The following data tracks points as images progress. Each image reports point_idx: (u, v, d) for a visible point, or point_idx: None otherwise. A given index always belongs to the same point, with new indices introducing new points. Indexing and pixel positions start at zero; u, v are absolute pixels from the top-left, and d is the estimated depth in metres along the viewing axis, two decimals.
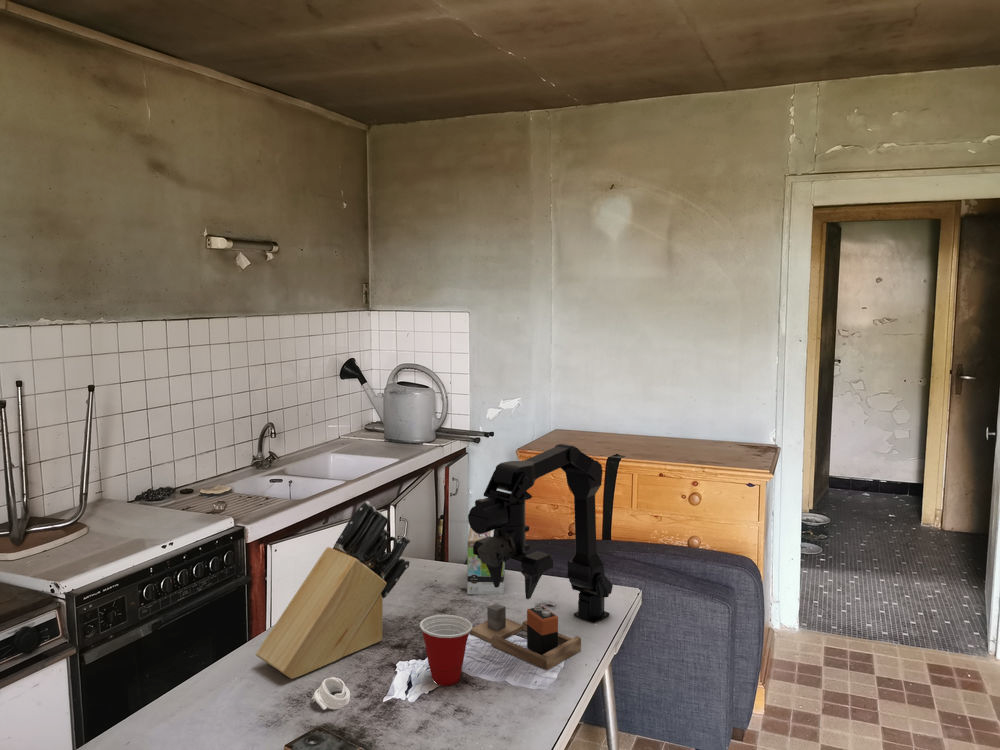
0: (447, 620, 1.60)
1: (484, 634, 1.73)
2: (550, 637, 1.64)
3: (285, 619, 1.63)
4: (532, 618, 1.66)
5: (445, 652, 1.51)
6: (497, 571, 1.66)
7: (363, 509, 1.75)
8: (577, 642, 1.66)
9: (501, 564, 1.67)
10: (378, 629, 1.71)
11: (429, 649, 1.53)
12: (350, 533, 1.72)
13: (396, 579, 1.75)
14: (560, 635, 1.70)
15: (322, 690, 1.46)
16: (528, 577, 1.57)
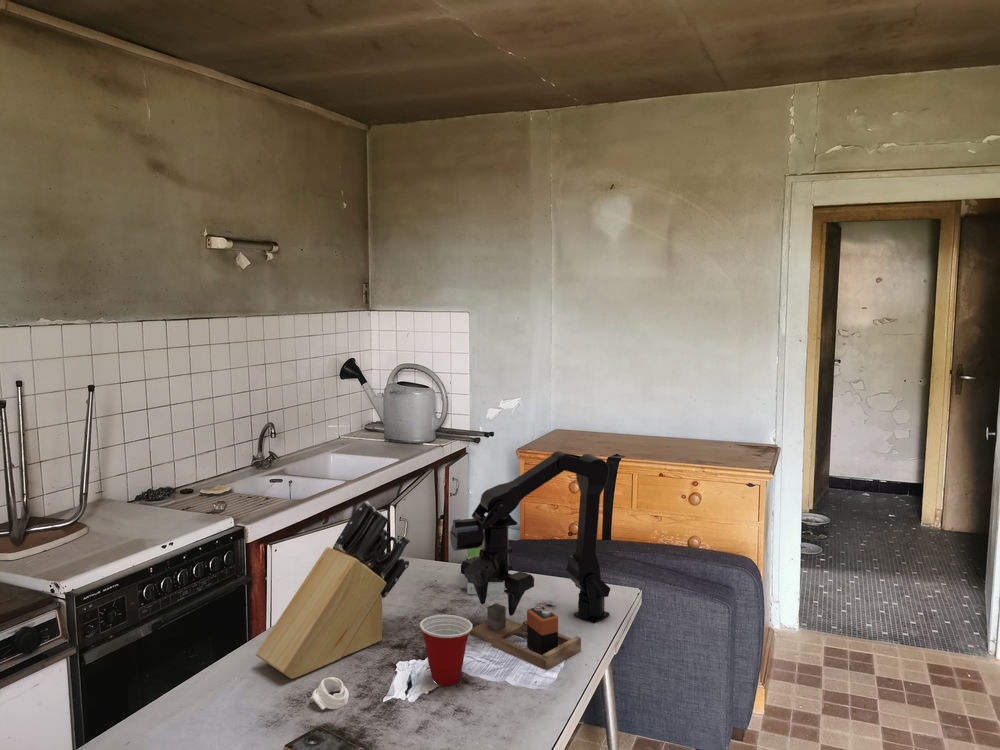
0: (447, 620, 1.60)
1: (484, 634, 1.73)
2: (550, 637, 1.64)
3: (284, 619, 1.63)
4: (532, 618, 1.66)
5: (445, 652, 1.51)
6: (483, 589, 1.79)
7: (363, 509, 1.75)
8: (577, 642, 1.66)
9: (487, 582, 1.80)
10: (377, 628, 1.71)
11: (429, 649, 1.53)
12: (350, 533, 1.72)
13: (396, 579, 1.75)
14: (560, 635, 1.70)
15: (321, 690, 1.46)
16: (511, 596, 1.70)
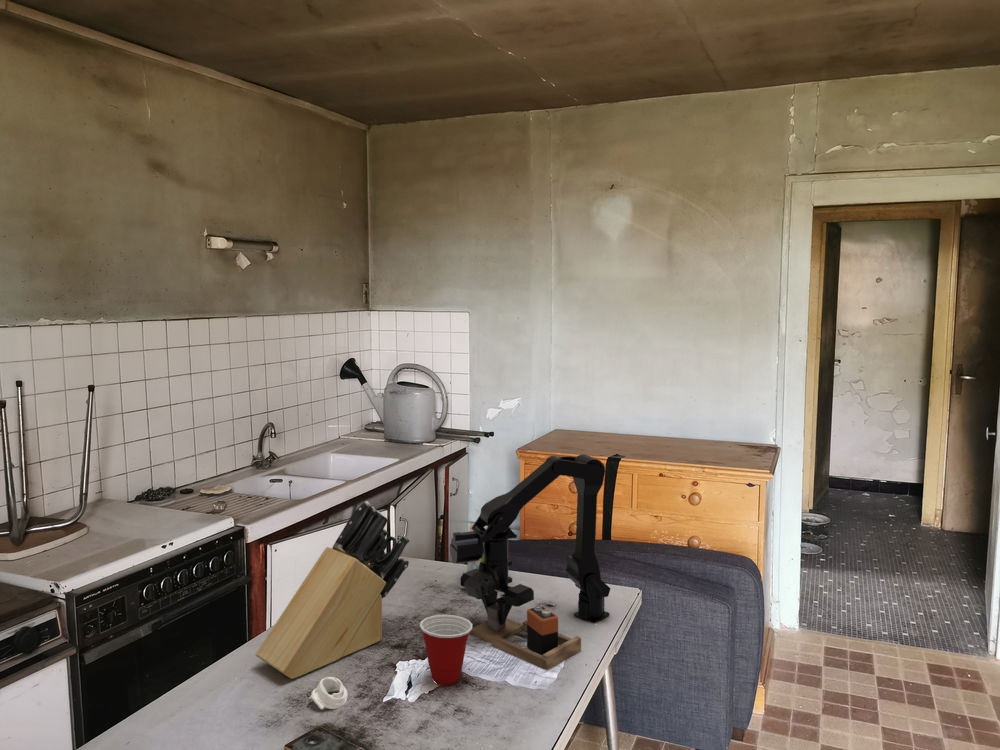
0: (447, 620, 1.60)
1: (484, 634, 1.73)
2: (550, 637, 1.64)
3: (284, 619, 1.63)
4: (532, 618, 1.66)
5: (445, 652, 1.51)
6: None
7: (363, 509, 1.75)
8: (577, 642, 1.66)
9: (495, 598, 1.79)
10: (377, 628, 1.71)
11: (429, 649, 1.53)
12: (350, 533, 1.72)
13: (396, 579, 1.75)
14: (560, 635, 1.70)
15: (319, 690, 1.46)
16: (501, 605, 1.72)
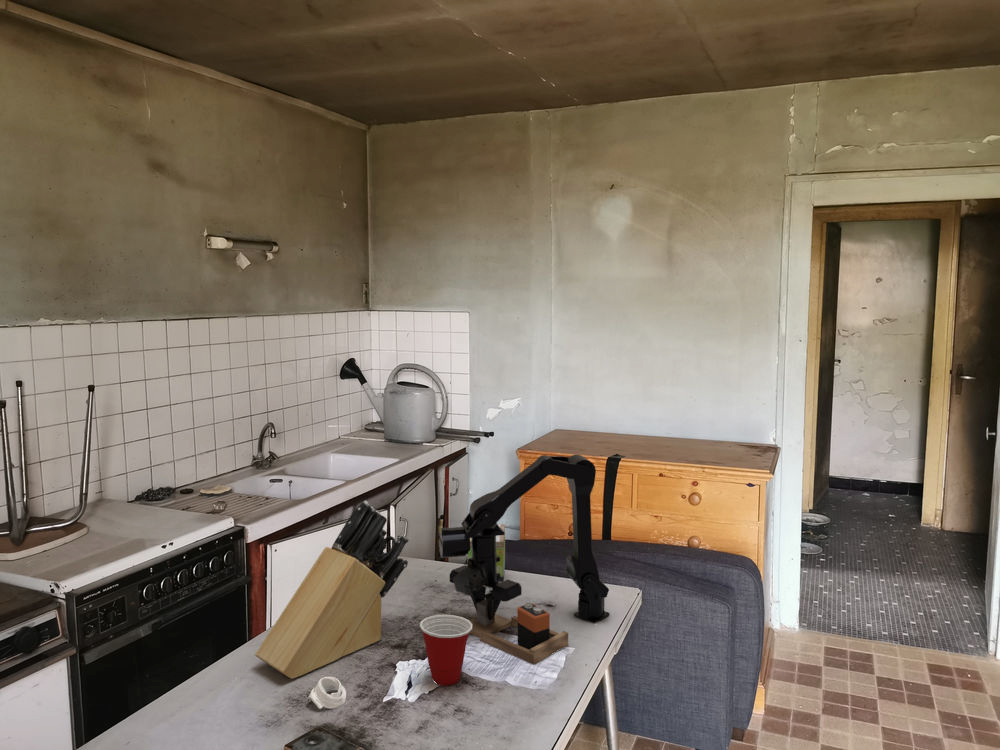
0: (447, 620, 1.60)
1: (473, 629, 1.76)
2: (542, 634, 1.65)
3: (284, 619, 1.63)
4: (523, 616, 1.67)
5: (445, 652, 1.51)
6: (480, 600, 1.80)
7: (362, 509, 1.75)
8: (564, 637, 1.69)
9: (484, 594, 1.81)
10: (376, 628, 1.72)
11: (429, 649, 1.53)
12: (349, 532, 1.72)
13: (395, 578, 1.75)
14: None
15: (318, 689, 1.46)
16: (490, 600, 1.75)
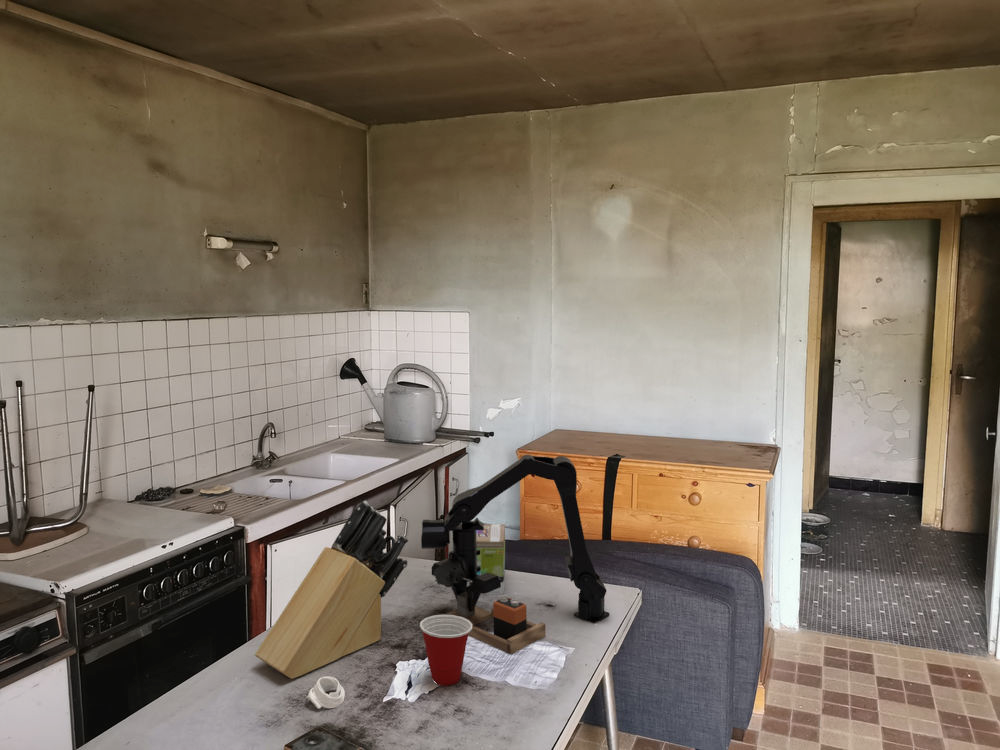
0: (447, 620, 1.60)
1: None
2: (521, 625, 1.70)
3: (284, 619, 1.63)
4: (501, 609, 1.70)
5: (445, 652, 1.51)
6: None
7: (361, 509, 1.75)
8: (541, 628, 1.73)
9: (465, 587, 1.86)
10: (376, 628, 1.72)
11: (429, 649, 1.53)
12: (348, 532, 1.72)
13: (395, 578, 1.75)
14: None
15: (317, 689, 1.46)
16: (469, 593, 1.79)
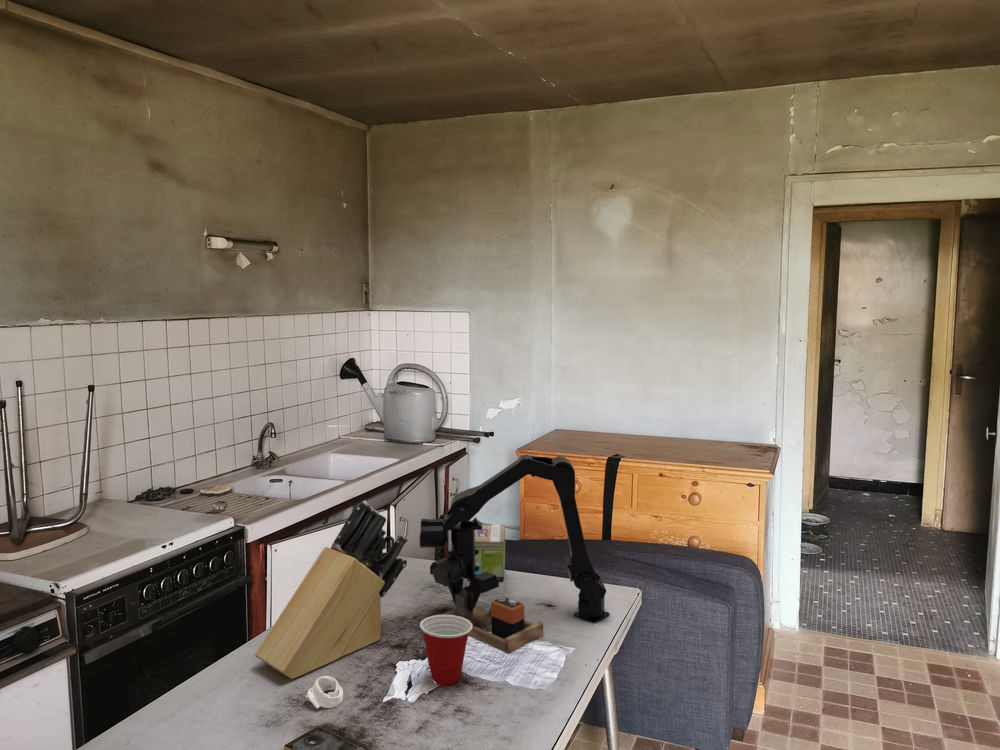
0: (447, 620, 1.60)
1: None
2: (519, 625, 1.70)
3: (283, 619, 1.63)
4: (499, 609, 1.71)
5: (445, 652, 1.51)
6: (457, 591, 1.86)
7: (361, 509, 1.75)
8: (539, 627, 1.74)
9: (461, 585, 1.87)
10: (376, 628, 1.72)
11: (429, 649, 1.53)
12: (348, 532, 1.72)
13: (394, 578, 1.75)
14: (524, 621, 1.78)
15: (315, 689, 1.46)
16: (469, 593, 1.79)
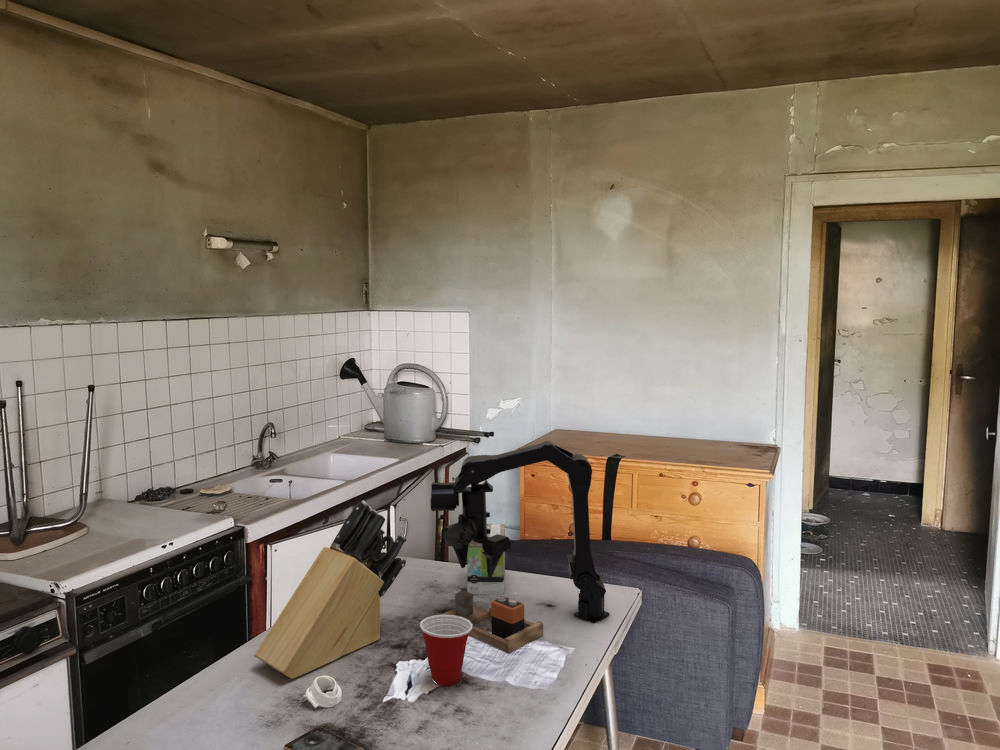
0: (447, 620, 1.60)
1: None
2: (519, 625, 1.70)
3: (283, 619, 1.63)
4: (499, 609, 1.71)
5: (445, 652, 1.51)
6: (463, 553, 1.87)
7: (360, 509, 1.75)
8: (539, 627, 1.74)
9: (467, 547, 1.88)
10: (375, 627, 1.72)
11: (429, 649, 1.53)
12: (347, 532, 1.73)
13: (393, 578, 1.75)
14: (524, 621, 1.78)
15: (314, 688, 1.46)
16: (489, 557, 1.77)
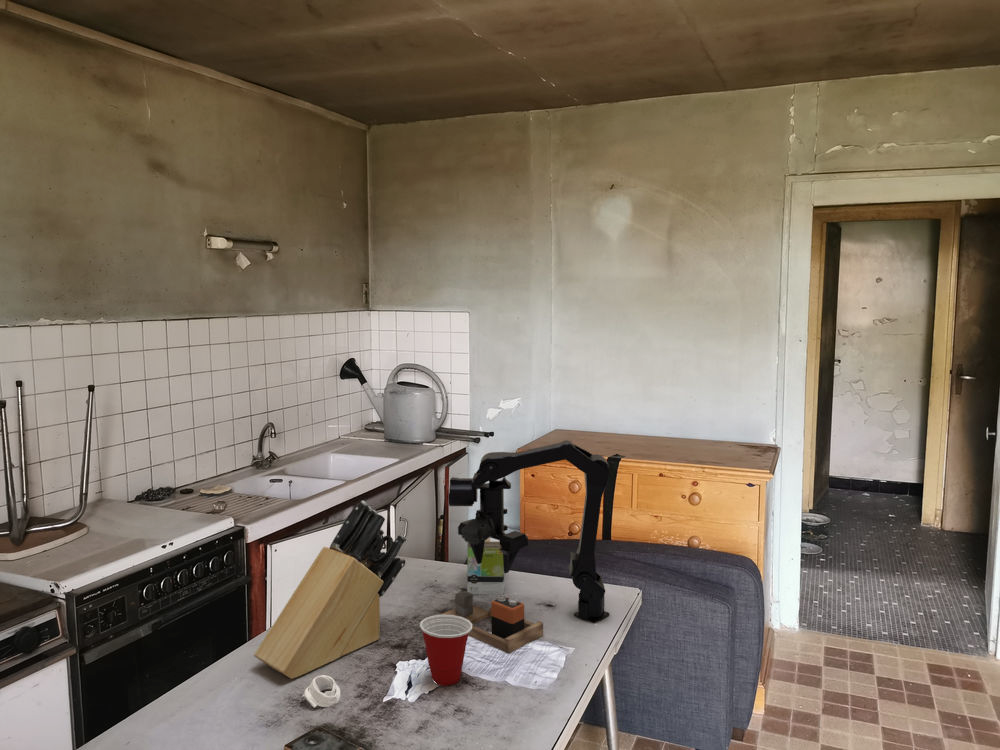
0: (447, 620, 1.60)
1: None
2: (519, 625, 1.70)
3: (283, 619, 1.63)
4: (499, 609, 1.71)
5: (445, 652, 1.51)
6: (479, 549, 1.88)
7: (359, 509, 1.75)
8: (539, 627, 1.74)
9: (483, 543, 1.89)
10: (375, 627, 1.72)
11: (429, 649, 1.53)
12: (347, 532, 1.73)
13: (393, 577, 1.75)
14: (524, 621, 1.78)
15: (312, 688, 1.47)
16: (506, 553, 1.78)
